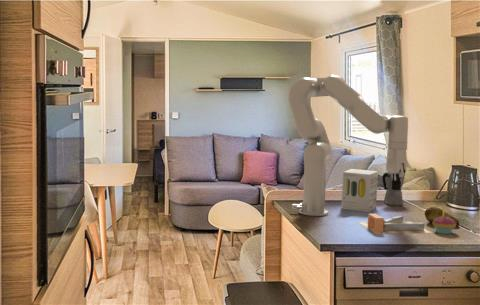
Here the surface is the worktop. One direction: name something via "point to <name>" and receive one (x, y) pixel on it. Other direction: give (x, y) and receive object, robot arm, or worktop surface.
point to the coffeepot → (392, 191)
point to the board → (394, 231)
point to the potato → (438, 215)
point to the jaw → (394, 220)
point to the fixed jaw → (403, 226)
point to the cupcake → (444, 224)
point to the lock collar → (375, 222)
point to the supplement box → (359, 190)
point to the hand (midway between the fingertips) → (396, 189)
